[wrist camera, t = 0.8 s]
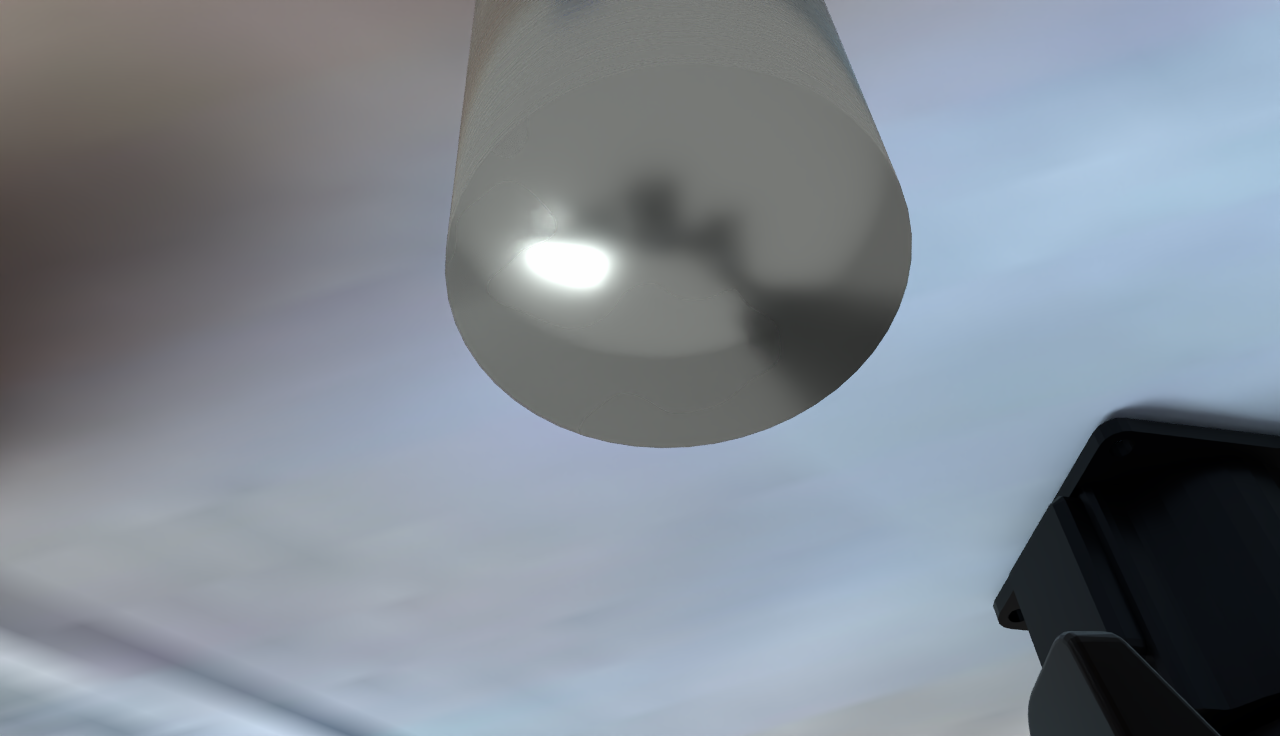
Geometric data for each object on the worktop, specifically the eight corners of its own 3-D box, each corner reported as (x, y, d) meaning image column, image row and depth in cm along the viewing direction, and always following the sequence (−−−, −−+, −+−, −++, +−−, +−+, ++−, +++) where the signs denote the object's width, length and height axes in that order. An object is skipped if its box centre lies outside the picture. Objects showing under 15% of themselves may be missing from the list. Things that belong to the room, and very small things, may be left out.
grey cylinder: (792, -232, 17) (982, 107, 10) (724, 32, 20) (832, 468, 12) (509, -289, 17) (472, 24, 9) (476, -9, 19) (426, 423, 11)
